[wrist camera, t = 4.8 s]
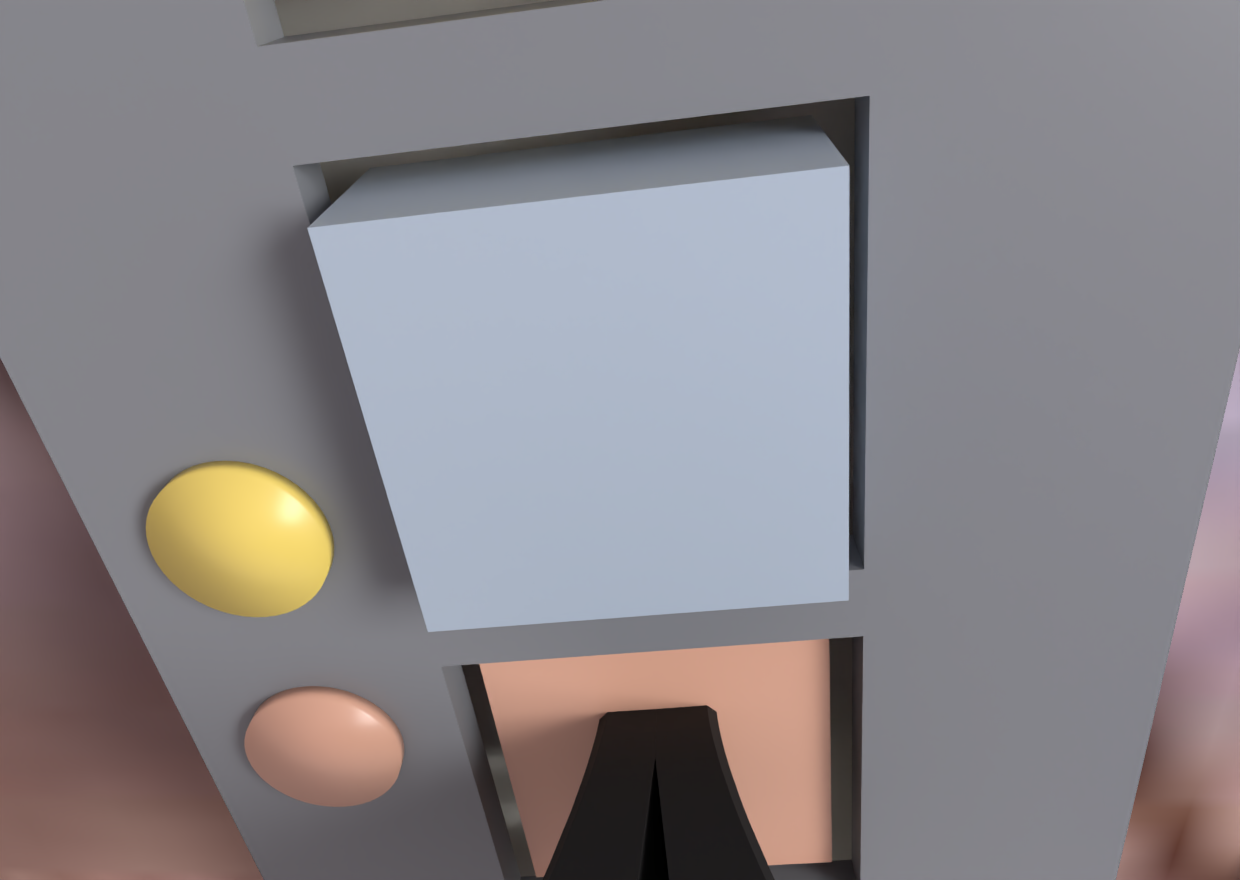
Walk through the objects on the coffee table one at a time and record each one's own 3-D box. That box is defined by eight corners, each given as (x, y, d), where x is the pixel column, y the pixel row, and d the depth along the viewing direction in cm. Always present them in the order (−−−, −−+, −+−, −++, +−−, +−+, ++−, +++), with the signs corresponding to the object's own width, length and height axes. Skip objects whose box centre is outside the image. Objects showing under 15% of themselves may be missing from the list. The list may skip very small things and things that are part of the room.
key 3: (818, 493, 10) (848, 600, 9) (461, 523, 10) (427, 632, 9) (812, 114, 8) (849, 165, 7) (370, 168, 8) (306, 228, 7)
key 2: (812, 754, 14) (831, 862, 12) (549, 770, 14) (536, 877, 13) (805, 538, 12) (829, 635, 10) (499, 564, 12) (478, 660, 11)
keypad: (970, 883, 19) (1059, 1154, 15) (452, 908, 20) (400, 1170, 16) (1167, -925, 7) (1815, -1968, 3) (-97, -661, 8) (-828, -1211, 4)
